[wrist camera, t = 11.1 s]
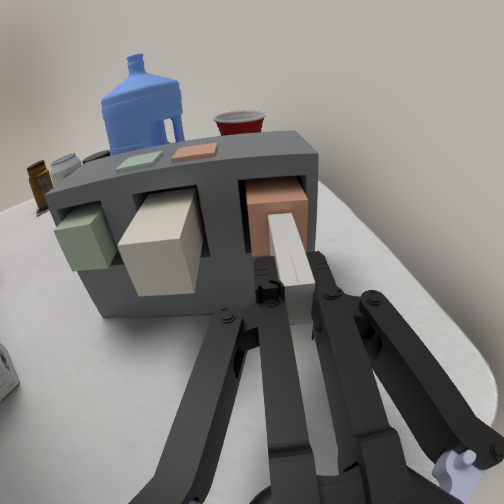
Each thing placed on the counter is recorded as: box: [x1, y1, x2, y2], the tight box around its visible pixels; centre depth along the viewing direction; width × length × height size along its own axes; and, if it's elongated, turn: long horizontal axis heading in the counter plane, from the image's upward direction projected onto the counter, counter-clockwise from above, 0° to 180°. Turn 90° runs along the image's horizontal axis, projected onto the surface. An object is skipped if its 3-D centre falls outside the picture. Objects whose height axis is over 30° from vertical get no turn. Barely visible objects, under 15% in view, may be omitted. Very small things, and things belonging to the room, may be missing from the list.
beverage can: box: [51, 153, 82, 187], centre depth 45 cm, size 7×7×12 cm
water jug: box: [101, 54, 185, 156], centre depth 46 cm, size 16×16×28 cm
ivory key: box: [117, 188, 204, 296], centre depth 18 cm, size 7×4×4 cm, turn 3°
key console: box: [44, 131, 318, 317], centre depth 24 cm, size 8×21×14 cm, turn 93°
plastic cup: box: [213, 110, 266, 136], centre depth 55 cm, size 11×11×12 cm
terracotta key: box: [245, 176, 308, 257], centre depth 21 cm, size 7×4×4 cm, turn 3°
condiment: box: [27, 160, 54, 216], centre depth 52 cm, size 7×8×12 cm
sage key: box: [54, 200, 118, 271], centre depth 21 cm, size 7×4×4 cm, turn 3°
